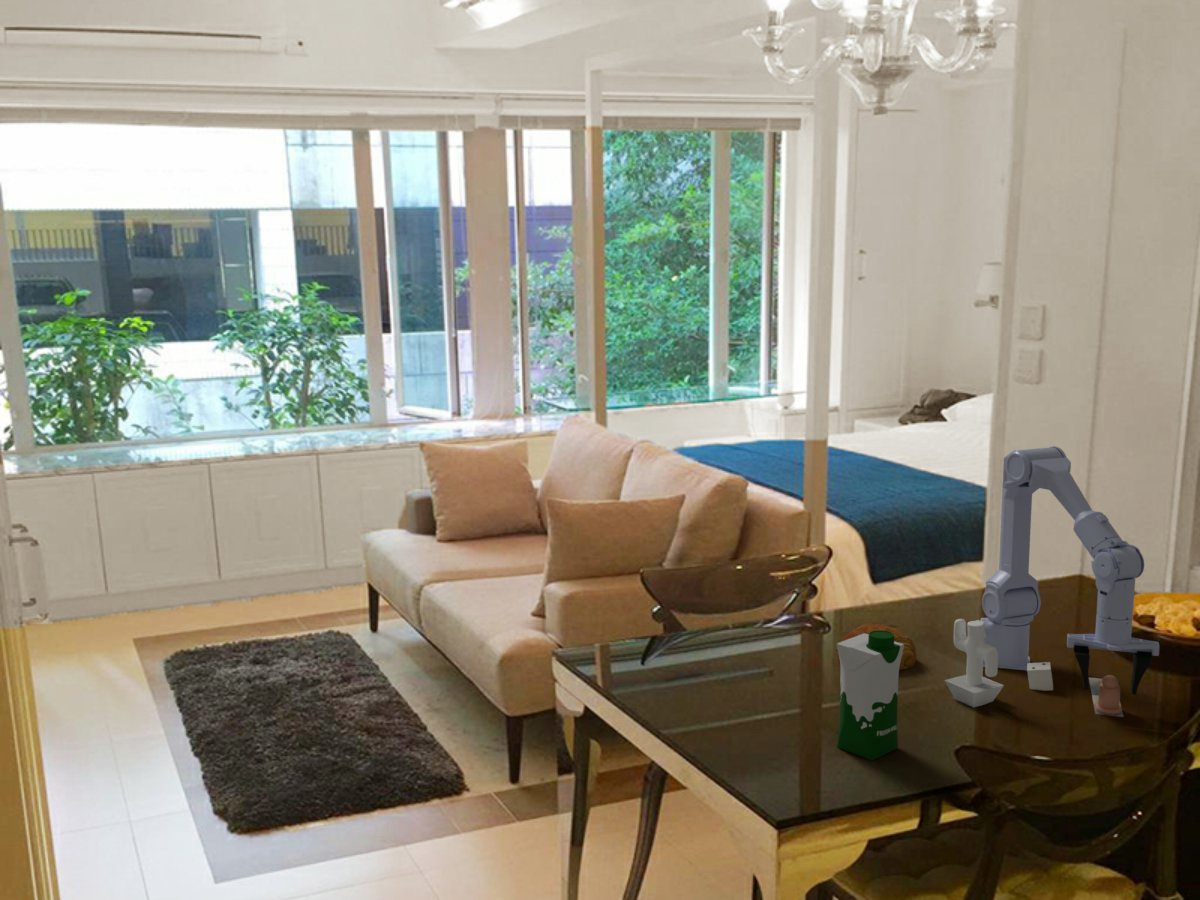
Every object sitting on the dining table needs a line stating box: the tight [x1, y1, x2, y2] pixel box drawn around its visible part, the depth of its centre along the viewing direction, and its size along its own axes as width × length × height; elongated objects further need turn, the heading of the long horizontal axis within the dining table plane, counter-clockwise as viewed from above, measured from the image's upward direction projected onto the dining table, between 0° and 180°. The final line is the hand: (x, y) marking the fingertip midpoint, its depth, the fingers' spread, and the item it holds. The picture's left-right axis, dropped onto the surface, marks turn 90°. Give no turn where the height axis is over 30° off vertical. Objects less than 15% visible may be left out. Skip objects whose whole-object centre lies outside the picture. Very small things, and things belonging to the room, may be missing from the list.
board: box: [1088, 677, 1124, 718], centre depth 213 cm, size 14×19×1 cm
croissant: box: [834, 621, 917, 671], centre depth 232 cm, size 15×16×8 cm
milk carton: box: [836, 630, 904, 761], centre depth 191 cm, size 9×9×20 cm
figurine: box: [944, 618, 1005, 708], centre depth 210 cm, size 7×9×15 cm
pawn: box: [1094, 674, 1123, 716], centre depth 204 cm, size 4×4×6 cm
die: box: [1026, 661, 1054, 692], centre depth 216 cm, size 4×4×4 cm
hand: (1109, 689), depth 204 cm, fingers open, 7 cm apart
